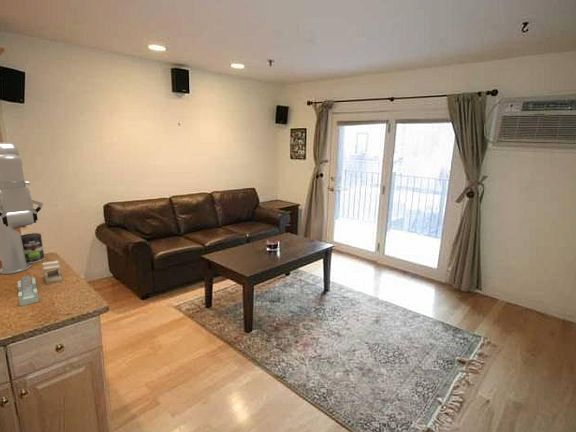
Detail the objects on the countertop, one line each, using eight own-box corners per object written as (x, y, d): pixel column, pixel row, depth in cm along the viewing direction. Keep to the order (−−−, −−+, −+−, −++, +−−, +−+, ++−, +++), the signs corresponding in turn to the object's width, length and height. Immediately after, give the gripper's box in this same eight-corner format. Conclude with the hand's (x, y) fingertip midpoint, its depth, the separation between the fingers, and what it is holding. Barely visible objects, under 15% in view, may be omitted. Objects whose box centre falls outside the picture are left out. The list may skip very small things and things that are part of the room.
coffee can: (47, 260, 182) (43, 235, 178) (23, 265, 174) (19, 240, 171) (42, 255, 188) (38, 231, 185) (20, 260, 181) (15, 235, 177)
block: (44, 277, 161) (42, 262, 159) (59, 273, 165) (57, 259, 163) (46, 284, 153) (43, 269, 151) (62, 280, 157) (59, 266, 155)
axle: (22, 283, 149) (21, 277, 148) (31, 281, 150) (29, 275, 150) (24, 296, 137) (22, 290, 136) (33, 294, 139) (31, 288, 138)
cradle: (19, 290, 147) (17, 281, 146) (36, 286, 151) (34, 277, 150) (20, 306, 134) (18, 296, 133) (39, 301, 138) (37, 291, 137)
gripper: (38, 182, 147) (45, 219, 151) (-13, 185, 136) (-5, 225, 140) (40, 184, 141) (46, 222, 145) (-14, 188, 130) (-6, 229, 135)
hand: (21, 223), depth 143 cm, fingers open, 9 cm apart
